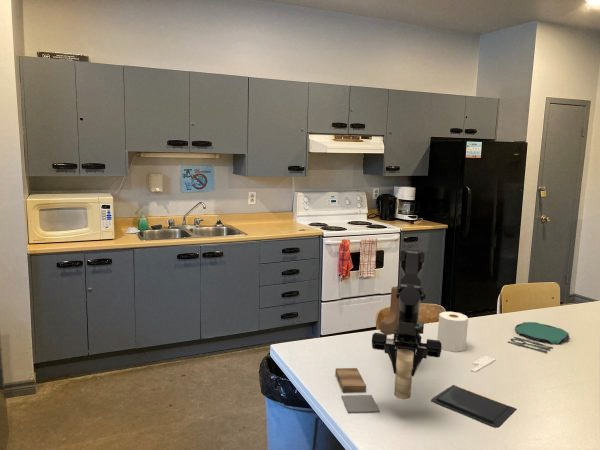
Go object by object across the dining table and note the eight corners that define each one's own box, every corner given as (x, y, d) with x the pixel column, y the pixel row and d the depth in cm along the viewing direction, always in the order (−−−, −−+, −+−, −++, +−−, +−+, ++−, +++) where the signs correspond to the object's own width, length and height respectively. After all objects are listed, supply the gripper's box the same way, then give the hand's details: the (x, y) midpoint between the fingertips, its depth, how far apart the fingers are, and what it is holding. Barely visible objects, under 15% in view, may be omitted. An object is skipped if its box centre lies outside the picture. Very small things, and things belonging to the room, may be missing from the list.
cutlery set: (574, 336, 199) (575, 330, 199) (551, 357, 178) (552, 351, 177) (524, 323, 213) (525, 318, 212) (497, 342, 191) (498, 336, 191)
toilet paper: (462, 354, 176) (465, 322, 174) (433, 347, 181) (436, 316, 179) (467, 345, 185) (470, 314, 183) (440, 339, 190) (442, 309, 188)
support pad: (371, 396, 143) (371, 394, 143) (379, 412, 134) (380, 410, 134) (341, 396, 142) (341, 395, 142) (348, 413, 133) (348, 411, 133)
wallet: (429, 396, 141) (454, 380, 152) (428, 402, 142) (453, 386, 152) (496, 425, 128) (519, 405, 138) (496, 432, 128) (518, 411, 138)
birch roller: (407, 390, 135) (410, 348, 133) (412, 399, 131) (416, 355, 129) (392, 391, 134) (395, 348, 133) (397, 399, 130) (400, 355, 128)
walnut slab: (335, 374, 156) (335, 368, 156) (356, 373, 157) (356, 368, 157) (343, 392, 144) (343, 386, 144) (365, 392, 145) (366, 385, 145)
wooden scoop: (386, 334, 192) (389, 291, 189) (379, 331, 196) (382, 288, 193) (404, 331, 197) (407, 288, 194) (396, 327, 200) (399, 285, 198)
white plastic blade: (461, 368, 165) (461, 365, 165) (482, 357, 175) (482, 354, 175) (475, 373, 161) (475, 370, 161) (495, 361, 172) (496, 358, 171)
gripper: (374, 305, 135) (367, 358, 126) (444, 312, 131) (442, 368, 122) (375, 322, 144) (369, 373, 135) (440, 330, 139) (438, 383, 130)
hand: (403, 374), depth 130 cm, fingers closed on birch roller, 4 cm apart
